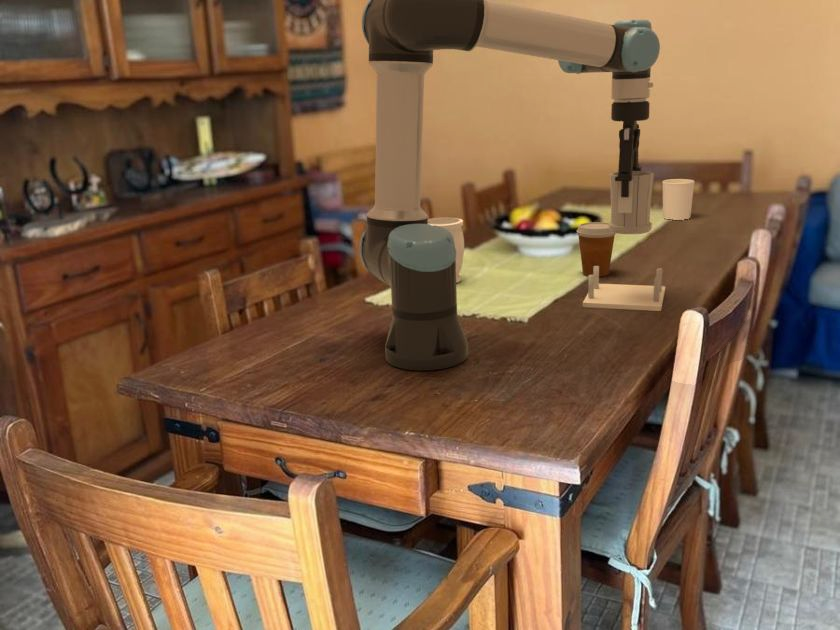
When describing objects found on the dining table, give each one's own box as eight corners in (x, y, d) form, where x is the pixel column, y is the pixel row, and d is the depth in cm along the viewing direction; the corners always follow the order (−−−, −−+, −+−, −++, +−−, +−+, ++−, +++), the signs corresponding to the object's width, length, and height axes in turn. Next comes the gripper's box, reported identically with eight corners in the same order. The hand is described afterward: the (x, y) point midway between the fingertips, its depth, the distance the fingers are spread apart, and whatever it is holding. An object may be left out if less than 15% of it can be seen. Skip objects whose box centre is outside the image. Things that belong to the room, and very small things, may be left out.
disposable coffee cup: (571, 276, 197) (571, 228, 194) (582, 267, 205) (583, 221, 202) (609, 279, 193) (610, 230, 190) (620, 270, 201) (621, 222, 198)
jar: (461, 287, 193) (459, 225, 188) (419, 286, 195) (416, 225, 191) (468, 276, 203) (466, 216, 198) (427, 275, 205) (425, 217, 200)
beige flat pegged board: (660, 311, 168) (662, 283, 166) (582, 307, 173) (583, 279, 171) (665, 290, 182) (666, 264, 180) (592, 287, 187) (593, 262, 185)
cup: (593, 230, 173) (594, 174, 170) (619, 224, 179) (620, 169, 175) (634, 236, 166) (636, 177, 162) (660, 229, 171) (663, 172, 168)
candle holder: (654, 218, 264) (655, 181, 260) (677, 214, 268) (679, 178, 264) (675, 222, 255) (677, 184, 252) (699, 218, 259) (701, 181, 256)
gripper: (645, 103, 153) (641, 218, 160) (653, 96, 174) (650, 198, 181) (604, 104, 156) (602, 217, 162) (617, 98, 177) (615, 198, 183)
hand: (627, 207), depth 171 cm, fingers closed on cup, 11 cm apart
